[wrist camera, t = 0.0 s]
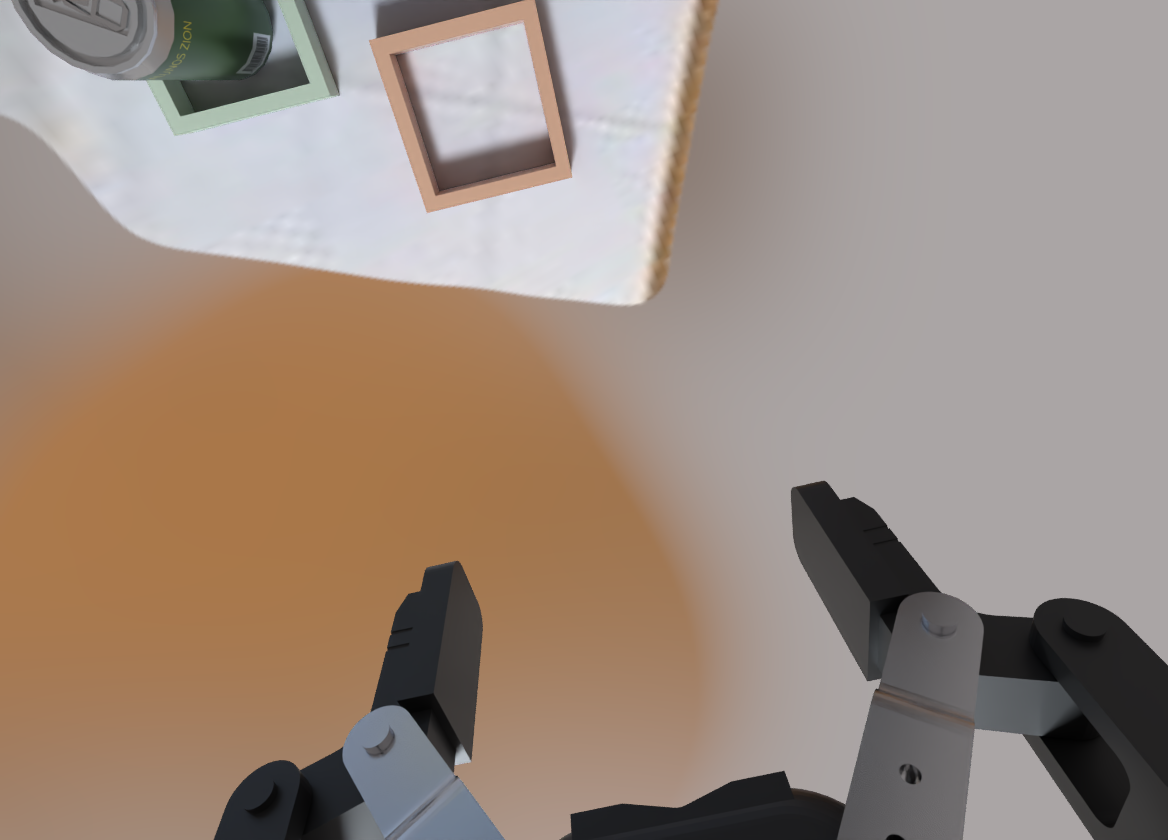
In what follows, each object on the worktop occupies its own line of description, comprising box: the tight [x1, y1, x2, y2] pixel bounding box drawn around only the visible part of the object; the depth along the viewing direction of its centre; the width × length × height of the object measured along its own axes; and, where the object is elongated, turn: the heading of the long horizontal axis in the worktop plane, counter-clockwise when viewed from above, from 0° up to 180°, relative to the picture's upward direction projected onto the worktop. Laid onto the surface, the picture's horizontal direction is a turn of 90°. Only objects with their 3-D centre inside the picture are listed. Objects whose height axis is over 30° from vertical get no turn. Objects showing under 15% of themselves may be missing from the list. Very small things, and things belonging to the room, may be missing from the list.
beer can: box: [12, 0, 273, 80], centre depth 27 cm, size 5×5×12 cm
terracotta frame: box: [369, 0, 572, 213], centre depth 35 cm, size 9×9×2 cm
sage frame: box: [146, 0, 339, 136], centre depth 32 cm, size 9×9×2 cm
